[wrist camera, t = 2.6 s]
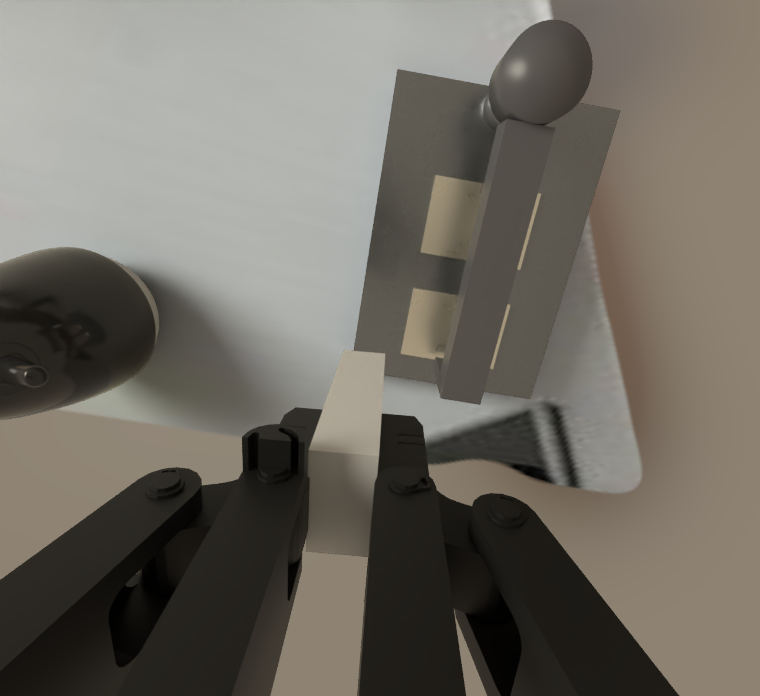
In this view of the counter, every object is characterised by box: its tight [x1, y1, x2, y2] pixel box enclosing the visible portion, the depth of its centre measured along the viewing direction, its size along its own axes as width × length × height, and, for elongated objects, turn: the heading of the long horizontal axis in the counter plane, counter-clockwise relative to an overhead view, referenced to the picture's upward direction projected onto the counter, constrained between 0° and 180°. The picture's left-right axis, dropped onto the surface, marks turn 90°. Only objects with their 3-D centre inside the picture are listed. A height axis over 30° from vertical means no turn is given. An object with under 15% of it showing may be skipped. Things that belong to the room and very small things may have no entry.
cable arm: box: [433, 20, 592, 405], centre depth 24 cm, size 19×4×6 cm, turn 170°
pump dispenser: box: [0, 247, 159, 420], centre depth 26 cm, size 10×10×15 cm
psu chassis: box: [354, 69, 620, 399], centre depth 28 cm, size 20×14×6 cm
